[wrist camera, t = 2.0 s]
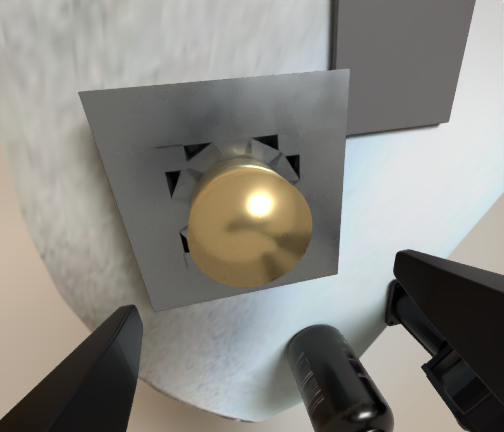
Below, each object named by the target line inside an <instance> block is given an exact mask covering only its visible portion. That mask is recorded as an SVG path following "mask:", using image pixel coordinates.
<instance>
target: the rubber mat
mask: <svg viewBox="0 0 504 432" xmlns="http://www.w3.org/2000/svg"><path fill="white" fill-rule="evenodd" d="M475 1H476V0H334V24H333V53H332V70H340V69H350V77H349V94H348V110H347V127H346V135H351V134H359V133H367V132H375V131H383V130H391V129H399V128H407V127H415V126H423V125H431V124H439V123H447V122H449V118H450V114H451V109H452V105H453V100H454V96H455V91H456V87H457V82H458V78H459V73H460V69H461V64H462V60H463V55H464V51H465V46H466V41H467V37H468V32H469V28H470V23H471V19H472V14H473V10H474V5H475Z"/></svg>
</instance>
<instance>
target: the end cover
mask: <svg viewBox="0 0 504 432" xmlns="http://www.w3.org/2000/svg"><path fill="white" fill-rule="evenodd" d="M311 234H312V216H311V211H310V209H309V206H308V204H307V202H306V200H305V198H304V197H303V195H302V194H301V193H300V192H299V191H298V190H297V189H296V188H295V187H294V186H293V185H292V184H290V183H289V182H288V181H287V180H285V179H284V178H283V177H281V176H280V175H279V174H278V173H276V172H275V171H274V170H272V169H271V168H270V167H268V166H267V165H265V164H264V163H262V162H259V161H257V160H253V159H249V158H234V159H229V160H225V161H222V162H220V163H218V164H216V165H214V166H213V167H211V168H210V169H209V170H208V171H206V172H205V173H204V174H203V176H202V177H201V178H200V179H199V181H198V182H197V184H196V186H195V188H194V191H193V194H192V199H191V207H190V215H189V223H188V231H187V241H188V247H189V251H190V254H191V256H192V258H193V260H194V262H195V263H196V265H197V266H198V267H199V269H200V270H201V271H202V272H203V273H204V274H206V275H207V276H208V277H210V278H211V279H213V280H215V281H217V282H219V283H221V284H224V285H228V286H232V287H242V288H246V287H256V286H261V285H264V284H267V283H270V282H273V281H275V280H277V279H279V278H280V277H282V276H283V275H285V274H286V273H288V272H289V271H290V270H291V269H292V268H293V267H294V266H295V265H296V264H297V263H298V262H299V261H300V259H301V258H302V256H303V255H304V253H305V252H306V249H307V247H308V245H309V242H310V239H311Z"/></svg>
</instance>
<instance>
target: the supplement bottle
mask: <svg viewBox="0 0 504 432" xmlns="http://www.w3.org/2000/svg"><path fill="white" fill-rule="evenodd" d="M288 360H289V363H290V366H291V369H292V372H293V374H294V377H295V380H296V382H297V385H298V388H299V391H300V393H301V396H302V399H303V401H304V404H305V407H306V409H307V412H308V415H309V417H310V420H311V423H312V426H313V428H314V431H315V432H393V429H394V418H393V413H392V411H391V408H390V407H389V405H388V403H387V402H386V400H385V399H384V397H383V396H382V394H381V393H380V391H379V389H378V388H377V387H376V385H375V383H374V382H373V380H372V379H371V377H370V376H369V374H368V373H367V371H366V370H365V368H364V367H363V365H362V364H361V362H360V361H359V359H358V358H357V356H356V355H355V353H354V352H353V350H352V349H351V347H350V346H349V344H348V342H347V341H346V340H345V338H344V337H343V335H342V334H341V332H340V331H339V330H338V329H336V328H335V327H333V326H330V325H315V326H311V327H309V328H306V329H305V330H303V331H301V332H300V333H299V334H297V335H296V336H295V337H294V339H293V340H292V341H291V343H290V345H289V348H288Z"/></svg>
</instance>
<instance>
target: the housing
mask: <svg viewBox="0 0 504 432" xmlns="http://www.w3.org/2000/svg"><path fill="white" fill-rule="evenodd" d="M349 77H350V69H340V70H328V71H316V72H305V73H293V74H281V75H270V76H258V77H246V78H235V79H223V80H211V81H200V82H188V83H177V84H165V85H153V86H142V87H130V88H118V89H107V90H95V91H83V92H78V93H79V96H80V99H81V102H82V105H83V108H84V111H85V114H86V117H87V119H88V122H89V125H90V128H91V131H92V134H93V137H94V140H95V142H96V145H97V148H98V151H99V154H100V157H101V160H102V163H103V166H104V168H105V171H106V174H107V177H108V180H109V183H110V186H111V189H112V192H113V194H114V197H115V200H116V203H117V206H118V209H119V212H120V215H121V217H122V220H123V223H124V226H125V229H126V232H127V235H128V238H129V241H130V243H131V246H132V249H133V252H134V255H135V258H136V261H137V264H138V267H139V269H140V272H141V275H142V278H143V281H144V284H145V287H146V290H147V292H148V295H149V298H150V301H151V304H152V307H153V310H154V312H158V311H163V310H168V309H172V308H177V307H182V306H187V305H192V304H196V303H201V302H206V301H211V300H216V299H220V298H225V297H230V296H235V295H240V294H244V293H249V292H254V291H259V290H264V289H268V288H273V287H278V286H283V285H288V284H292V283H297V282H302V281H307V280H312V279H316V278H321V277H326V276H331V275H336V274H338V258H339V242H340V225H341V209H342V193H343V176H344V160H345V143H346V127H347V110H348V94H349ZM234 158H249V159H253V160H257V161H259V162H262V163H264V164H265V165H267V166H268V167H270V168H271V169H272V170H274V171H275V172H276V173H278V174H279V175H280V176H281V177H283V178H284V179H285V180H287V181H288V182H289V183H290V184H292V185H293V186H294V187H295V188H296V189H297V190H298V191H299V192H300V193H301V194H302V195H303V197H304V198H305V200H306V202H307V204H308V206H309V209H310V211H311V216H312V234H311V239H310V242H309V245H308V247H307V249H306V252H305V253H304V255H303V256H302V258H301V259H300V261H299V262H298V263H297V264H296V265H295V266H294V267H293V268H292V269H291V270H290V271H289V272H288V273H286V274H285V275H283V276H282V277H280V278H279V279H277V280H275V281H273V282H270V283H267V284H264V285H261V286H256V287H246V288H242V287H232V286H228V285H224V284H221V283H219V282H217V281H215V280H213V279H211V278H210V277H208V276H207V275H206V274H204V273H203V272H202V271H201V270H200V269H199V267H198V266H197V265H196V263H195V262H194V260H193V258H192V256H191V254H190V251H189V247H188V241H187V231H188V223H189V215H190V207H191V199H192V194H193V191H194V188H195V186H196V184H197V182H198V181H199V179H200V178H201V177H202V176H203V174H204V173H205V172H206V171H208V170H209V169H210V168H211V167H213V166H214V165H216V164H218V163H220V162H222V161H225V160H229V159H234Z"/></svg>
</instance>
